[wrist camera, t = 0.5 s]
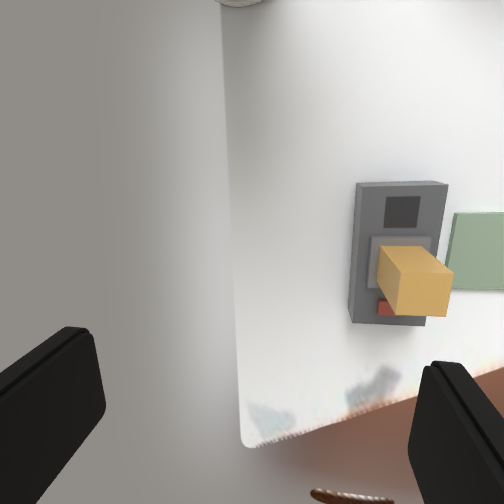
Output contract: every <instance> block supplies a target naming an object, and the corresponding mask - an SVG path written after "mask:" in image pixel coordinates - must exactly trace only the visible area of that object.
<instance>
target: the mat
mask: <svg viewBox="0 0 504 504" xmlns="http://www.w3.org/2000/svg"><path fill="white" fill-rule="evenodd" d="M445 266H446V267H447V268H448V269H450V270H451V271H452V272H453V273H454V277H453V282H452V287H451V288H460V289H498V290H504V212H487V213H454V219H453V224H452V230H451V235H450V241H449V246H448V252H447V257H446V263H445Z"/></svg>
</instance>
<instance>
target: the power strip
mask: <svg viewBox="0 0 504 504" xmlns="http://www.w3.org/2000/svg"><path fill="white" fill-rule="evenodd" d="M447 191H448V184H444V183H440V182H436V181H407V182H369V183H357V185H356V199H355V214H354V228H353V243H352V257H351V271H350V286H349V300H348V310H349V313H350V317H351V320H352V323H363V324H385V325H407V326H425V322H426V316H413V315H395V313H394V311H393V309H392V308H391V306H390V304H389V302H388V300H387V299H386V297H385V295H384V293H383V292H382V290H381V288H368V287H367V285H366V279H367V268H368V257H369V246H370V236H429V237H431V238H432V239H431V245H430V251H429V253H430V254H431V255H433V256H434V257H435V258H436V256H437V250H438V244H439V238H440V232H441V226H442V221H443V215H444V209H445V203H446V197H447Z"/></svg>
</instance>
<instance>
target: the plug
mask: <svg viewBox="0 0 504 504" xmlns="http://www.w3.org/2000/svg"><path fill="white" fill-rule="evenodd" d="M431 239H432V238H431V237H429V236H370V246H369V257H368V268H367V279H366V285H367V287H368V288H381V290H382V292H383V293H384V295H385V297H386V299H387V300H388V302H389V304H390V306H391V308H392V309H393V311H394V313H395V315H413V316H437V317H446V313H447V308H448V303H449V298H450V292H451V287H452V282H453V277H454V273H453V272H452V271H451V270H450V269H448V268H447V267H446V266H445V265H444V264H442V263H441V262H440V261H439V260H438V259H436V258H435V257H434V256H433V255H431V254H430V253H429V251H430V245H431Z"/></svg>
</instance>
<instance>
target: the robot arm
mask: <svg viewBox="0 0 504 504" xmlns="http://www.w3.org/2000/svg"><path fill="white" fill-rule="evenodd" d="M215 1H217V2H219V3H222V4H224V5H228V6H233V7H242V6H249V5H252V4H255V3H258V2H259V1H261V0H215ZM105 409H106V401H105V395H104V391H103V385H102V380H101V375H100V369H99V364H98V359H97V353H96V348H95V343H94V338H93V336H92V334H90V333H89V331H88V330H87V329H86V328H79V327H64V328H62V329H61V330H60V331H58V332H57V333H55V334H54V335H53V336H51V337H50V338H48V339H47V340H45V341H44V342H43V343H41V344H40V345H38V346H37V347H36V348H34V349H33V350H31V351H30V352H29V353H27V354H26V355H25V356H23V357H22V358H20V359H19V360H17V361H16V362H15V363H14V364H12V365H11V366H9V367H8V368H6V369H5V370H4V371H2V372H1V373H0V504H36V502H37V501H38V500H39V499H40V497H41V496H42V495H43V494H44V492H45V491H46V490H47V488H48V487H49V486H50V485H51V483H52V482H53V481H54V479H55V478H56V477H57V475H58V474H59V473H60V471H61V470H62V469H63V467H64V466H65V465H66V464H67V462H68V461H69V460H70V458H71V457H72V456H73V455H74V453H75V452H76V451H77V449H78V448H79V447H80V446H81V444H82V443H83V442H84V440H85V439H86V438H87V436H88V435H89V434H90V433H91V431H92V430H93V429H94V427H95V426H96V425H97V423H98V422H99V421H100V419H101V418H102V417H103V415H104V412H105ZM408 455H409V460H410V464H411V466H412V469H413V472H414V475H415V478H416V480H417V484H418V486H419V489H420V492H421V495H422V498H423V501H424V503H425V504H504V418H503V417H502V416H501V415H500V413H499V412H498V411H497V409H496V408H495V407H494V405H493V404H492V403H491V401H490V400H489V399H488V398H487V396H486V395H485V394H484V392H483V391H482V390H481V388H480V387H479V386H478V385H477V383H476V382H475V381H474V379H473V378H472V377H471V375H470V374H469V373H468V372H467V370H466V369H465V368H464V366H463V365H462V364H460V363H455V362H445V361H433V362H432V363H431V366H425V367H424V369H423V373H422V378H421V383H420V388H419V393H418V398H417V403H416V408H415V413H414V417H413V422H412V428H411V432H410V437H409V442H408Z"/></svg>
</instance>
